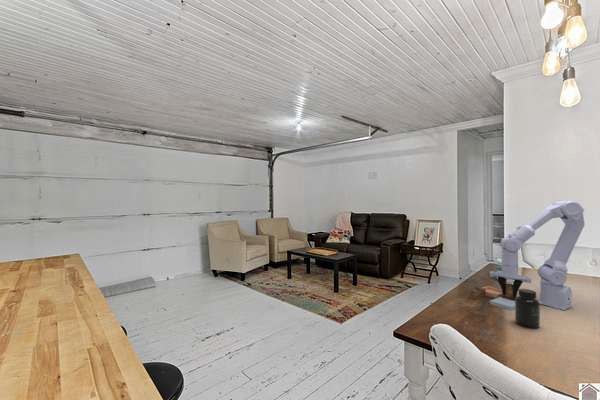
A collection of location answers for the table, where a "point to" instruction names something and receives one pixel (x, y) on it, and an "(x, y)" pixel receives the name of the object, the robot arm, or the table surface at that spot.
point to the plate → (503, 303)
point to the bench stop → (477, 293)
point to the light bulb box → (499, 269)
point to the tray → (492, 292)
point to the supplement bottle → (527, 309)
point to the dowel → (509, 291)
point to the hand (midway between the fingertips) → (509, 295)
